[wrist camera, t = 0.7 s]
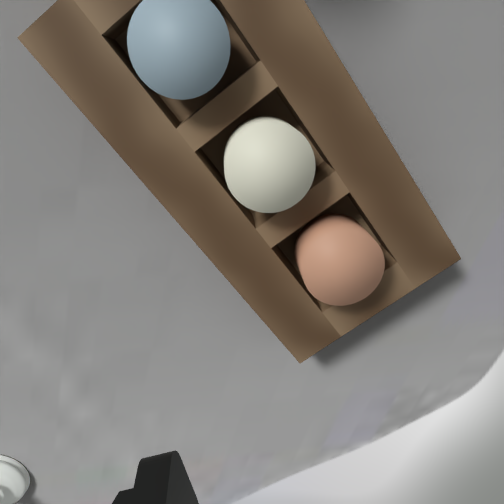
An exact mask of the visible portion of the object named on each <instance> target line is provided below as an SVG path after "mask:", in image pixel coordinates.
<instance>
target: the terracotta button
mask: <svg viewBox="0 0 504 504" xmlns="http://www.w3.org/2000/svg"><path fill="white" fill-rule="evenodd" d="M294 255H295V260H296V263H297V265H298V268H299V270H300V273H301V275H302V278H303V280H304V283H305V285H306V287H307V289H308V291H309V292H310V293H311V294H312V295H313V296H314V297H315V298H316V299H318V300H319V301H321V302H323V303H326V304H329V305H334V306H345V305H350V304H354V303H356V302H359V301H361V300H363V299H364V298H366V297H367V296H369V295H370V294H371V293H372V292H373V291H374V290H375V289H376V287H377V286H378V284H379V283H380V281H381V279H382V276H383V274H384V269H385V259H384V254H383V252H382V249H381V247H380V246H379V244H378V243H377V242H376V241H375V240H374V238H373V237H372V236H371V235H370V234H369V233H368V232H367V231H366V230H365V229H364V228H363V227H362V225H361V224H360V223H359V222H357V221H356V220H355V219H353V218H351V217H349V216H347V215H344V214H336V213H333V214H326V215H322V216H319V217H317V218H315V219H313V220H312V221H310V222H309V223H308V224H307V225H306V226H305V227H304V228H303V229H302V230H301V232H300V233H299V235H298V237H297V240H296V243H295V249H294Z"/></svg>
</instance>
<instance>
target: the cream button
mask: <svg viewBox="0 0 504 504" xmlns="http://www.w3.org/2000/svg"><path fill="white" fill-rule="evenodd" d="M224 174H225V179H226V183H227V186H228V188H229V190H230V192H231V193H232V195H233V196H234V197H235V198H236V199H237V201H239V202H240V203H241V204H242V205H244V206H245V207H247V208H249V209H251V210H254V211H257V212H262V213H276V212H281V211H284V210H286V209H288V208H291V207H292V206H294V205H295V204H297V203H298V202H299V201H300V200H301V199H302V198H303V197H304V196H305V195H306V193H307V192H308V191H309V189H310V187H311V185H312V182H313V179H314V176H315V156H314V153H313V150H312V147H311V145H310V144H309V142H308V140H307V139H306V138H305V137H304V135H303V134H302V133H300V132H299V131H298V130H297V129H295V128H294V127H293V126H291V125H290V124H289V123H287V122H286V121H284V120H282V119H279V118H277V117H272V116H259V117H254V118H251V119H249V120H247V121H245V122H243V123H242V124H240V125H239V126H238V127H237V128H236V129H235V130H234V131H233V132H232V134H231V135H230V137H229V139H228V141H227V143H226V146H225V150H224Z"/></svg>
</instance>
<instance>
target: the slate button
mask: <svg viewBox="0 0 504 504" xmlns="http://www.w3.org/2000/svg"><path fill="white" fill-rule="evenodd" d="M127 47H128V53H129V57H130V60H131V63H132V65H133V67H134V69H135V71H136V73H137V74H138V76H139V77H140V79H141V80H142V81H143V82H144V83H145V84H146V85H147V86H148V87H149V88H151V89H152V90H153V91H155V92H156V93H158V94H160V95H162V96H165V97H168V98H172V99H179V100H185V99H192V98H196V97H199V96H201V95H203V94H205V93H207V92H208V91H210V90H211V89H212V88H213V87H214V86H215V85H216V84H217V83H218V82H219V81H220V79H221V78H222V76H223V75H224V73H225V70H226V68H227V65H228V62H229V57H230V37H229V31H228V28H227V25H226V23H225V20H224V18H223V16H222V15H221V13H220V11H219V10H218V9H217V8H216V6H215V5H214V4H213V3H212V2H211V1H210V0H143V1H142V2H141V3H140V4H139V5H138V7H137V8H136V9H135V11H134V13H133V15H132V17H131V20H130V23H129V27H128V33H127Z"/></svg>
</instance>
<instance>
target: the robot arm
mask: <svg viewBox="0 0 504 504" xmlns="http://www.w3.org/2000/svg"><path fill="white" fill-rule="evenodd" d="M112 504H199V503H198V500H197V497H196V495H195V492H194V490H193V487H192V485H191V482H190V480H189V477H188V475H187V472H186V470H185V467H184V465H183V462H182V460H181V457H180V455H179V453H178V452H177V451H172V452H167V453H163V454H159V455H155V456H151V457H147V458H143V459H141V460H140V462H139V465H138V469H137V474H136V479H135V484H134V488H132V489H128V490H124V491H120V492H119V493H118V495H117V496H116V498H115V500H114V501H113V503H112Z"/></svg>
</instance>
